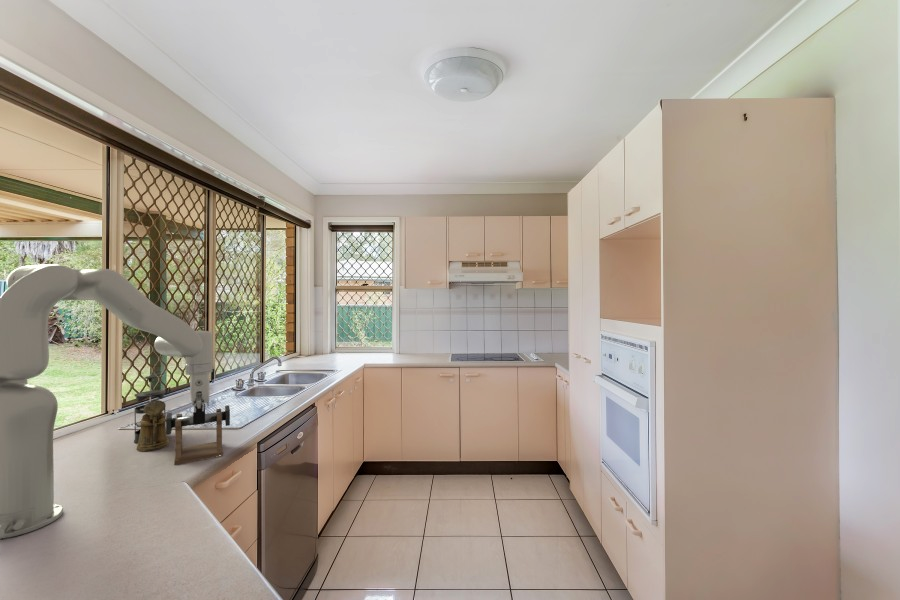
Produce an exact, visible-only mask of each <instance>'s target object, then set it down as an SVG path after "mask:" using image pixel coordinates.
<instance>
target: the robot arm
mask: <svg viewBox="0 0 900 600" xmlns="http://www.w3.org/2000/svg"><path fill="white" fill-rule="evenodd" d="M6 285H7V289H5V291H4V292H3V293H2V295H1V296H0V540H2V538H3V539H8V538H13V537H17V536H21V535H24V534H28V533H29V532H30V533H31V532H33V531H36V530H39V529H41V528H43V527H45V526H48V525H49V524H51V523H53V522H55V521H56V520H57V519H59V518H60V517H61V516H62V515H63V513H64V508H63V506H62V505H61V504H58V503H57V504H56V503H54V502H55V501H54V498H55V496H54V495H55V490H54V487H55V483H54V482H55V481H54V477H55V476H54V475H55V474H54V469H55V468H54V465H55V464H54V432H55V425H56V424H55V423H56V418H57V413H58V410H59V409H58V406H59V405H58V404H59V403H58V400H57V397H56V396H55V394H54V393H53V392H52V391H51V390H49V389H47V388H45V387H43V386H40V385H35V384H34V385H33V384H28V380H29V379H33V378H35V377H38V376H40V375H41V374H42V373H44V372H45V371H46V370H47V368H48V365H49V361H50V351H49V333H48V332H49V329H48V327H49V317H50V314H51V311H52V310H53V308H54V307H55V306H56V305H57V304H58V303H59V302H60V301H96V302H98V303H99V304H100V305H101V306H103V308H105V309H106V310H108V311H109V312H110V313H111V314H113V315H114V316H115V317H117V318H118V319H119V320H120V321H121V322H122V323H124V324H125V325H127V326H129V327H132V328H134V329H136V330H140V331H142V332H147V333H149V334H152V335H155V336H157V337H156V339H155V341H154V344H153V346H154V349H155V351H156V352H157V354H159V355H162V356H166V357H177V358H178V357H179V358H185V375H187V376H189V391H190V400H191V401H190V403H191V405H192V406H193V412H192V416H193V425H192V426H197V425H203V424H206V423H205V414H206V404H209V403H210V374H211V373H213V334H212V332H211V331H209V330H195V329H194V328H193V327H192V326H190V325H189V324H188V323H187V322H186V321H184V320H183V319H181V318H180V317H178V316H177V315H174V314H172V313H171V312H170V311H167V310H166V309H163V307H160V306H158V305H157V304H155V303H153V301H152V300H150V299H149V298H148V297H147V296H146V295H145V294H143V293H142V292H141V291H140V290H139V289H138V288H137V287H136V286H135V285H134V284H132V282H130V281H129V280H128V279H127V278H126V277H125V276H123V275H122V274H121V273H119V272H118V271H116V270H114V269H110V268H89V269H86V268H85V269H83V268H82V269H81V268H80V269H78V268H77V269H76V268H71V267H70V266H67V265H63V264H56V263H55V264H53V263H49V264H48V263H47V264H31V265H24V266H20V267H17V268H15V269H14V270H12V271H11V272H10V273H9V274H8V276H7V278H6Z"/></svg>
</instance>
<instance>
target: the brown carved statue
mask: <svg viewBox="0 0 900 600" xmlns="http://www.w3.org/2000/svg"><path fill="white" fill-rule="evenodd" d="M144 405H145V406H144V408H143V409H142V410H143V411H144V413H145V414H142V417H141V419H140V421H141V427H140V429H141V430H140V429H139V430H140V436H139V441H138V444H136V451H138V452H150V451H155V450H161V449H163V448H165V447H167V446H168V445H169V444H170V442H169V438H168V435H166V415H165V416H164V410H165V411H166V407H167V406H166V402H164V401H162V400H159V399H154V400H151V402H150V401H149V402H147V403H146V404H144Z"/></svg>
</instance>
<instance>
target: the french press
mask: <svg viewBox="0 0 900 600" xmlns="http://www.w3.org/2000/svg"><path fill="white" fill-rule="evenodd" d="M157 378H158V375H148V376H144V377H142V379H143V380H148V383H149V390H148V391H141V392H138V393H136V394H134V397H135V402H138V403H140V402H143V401H144V400H146V399H148V398H149V402H151V401H152V397H156V398H157V399H160V400H161V399H164V398H165V393H166V391H165V390H164V389H163V390H161V389H159V390H158V389H157V390H155V389H154V390H152V387H151V386H152V384H151V383H152V382H153V381H152V380H153V379H157ZM145 405H146V404H141V405H138V406H136V407H134V439H133V440H134V441H133V443H134V444H136V445H137V444H138V441H139V436H140V430H141V420H139V421H138V422H137V421H136V417H137V414H139V415H145V414H146V413H144V411H143V408H144V406H145ZM163 413H164V416H165V417H166V409H165V410H164V411H163ZM137 427H139V428H140V429H137Z"/></svg>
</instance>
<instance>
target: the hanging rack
mask: <svg viewBox="0 0 900 600" xmlns="http://www.w3.org/2000/svg"><path fill="white" fill-rule="evenodd" d="M216 412H222V408H216V410H215V413H216ZM178 417H183V413H177V414H176V418H178ZM215 423H216V426H215V429H216V438H215V439H216V441H213V442H212V441H211V442H206V443H201V444H195V445H189V446H183V426H182V427H181V419H176V420H175V428H174V429H175V430H174V431H175V433H174V435H175V436H174V438H175V439H174V443H175V444H174V445H175V446H174V447H175V449H174V451H175V455H174V461H173V463H174V466H175V465H176V466H177V465H181V464H185V463H192V462H191V461H193V462H197V461H196V460H198V461H201V459H203V460H208V458H209V459H213V458H212V457H214V458H217V457H216V456H219V455H224V451H223V421H222V413H219V414H217V422H215ZM219 457H220V456H219Z"/></svg>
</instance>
